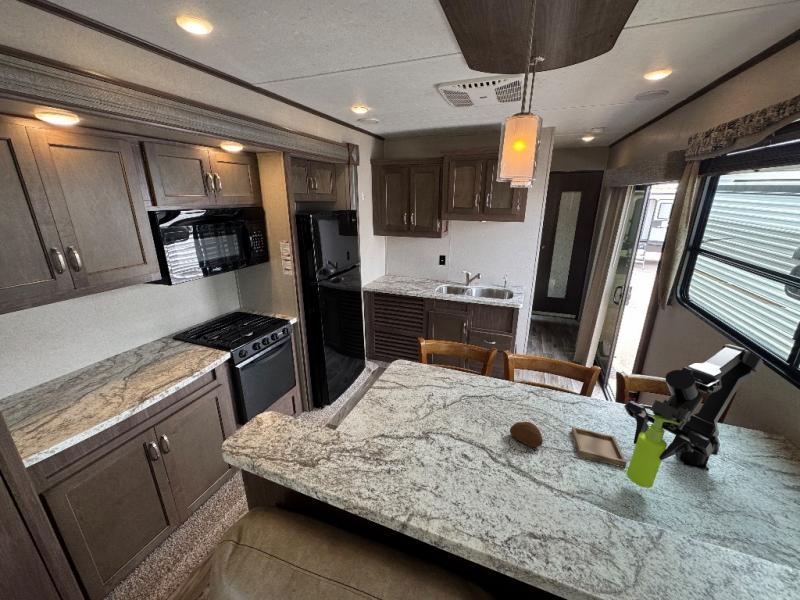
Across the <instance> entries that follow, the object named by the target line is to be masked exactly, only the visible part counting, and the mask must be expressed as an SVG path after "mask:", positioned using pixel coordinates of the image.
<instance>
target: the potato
mask: <svg viewBox="0 0 800 600" xmlns="http://www.w3.org/2000/svg"><path fill="white" fill-rule="evenodd" d="M509 433H510V435H511V436H512V437H513V438H514V439H516V440H517V441H519V442H521V443H522V444H524V445H526V446H527V447H530V448H531V447H532V448H539V447H541V446H542V445H543V439H544V438H543V436H542V433H541V431H540V429H539V427H537V426H536V425H535V424H534V423H533V422H530V421H518V422H516V423H514V424H513V425H512V426H511V427H510V428H509Z"/></svg>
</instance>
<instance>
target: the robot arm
mask: <svg viewBox="0 0 800 600" xmlns="http://www.w3.org/2000/svg"><path fill="white" fill-rule="evenodd" d="M763 367H764V361H763V360H762V358H761V357H760V356H757V355H755V354H753V353H751V352H750V350H747V349H746V348H744V347H740V346H737V345H733V344H730V343H729V344H723V345H722V347H721V349H720V350H719V351H718V352H716V353H715V354H714V355H712V356H711V357H709V359H707V360H706V361H704V362H698V363H697V362H695V363H692V364H690V365H688V366H687V367H685V366H683V367H682V368H681V369H674V370H671V371H669V372H667V373H666V375H665V376H664V377H665V381H666V385H667V388H668V391H669V392H670V396H669V397H668V398H667V399H665V400H663V402H661V401H660V400H657V399H655V400H654V401H653V403H652V405H651V407H650V409H649V410H650V411H652V413H653V414H650V413H649V412H648V411H647V409H646V407H645V406H643V405H641V404H639V403H638V402H636V401H633V400H629V401H627V402H626V403H625V404H624V409H625V410H626V412H627V415H629V416H630V417H632V418H633V419H635V422H636V428H635V433H634V438H633V444H634V445H636V442H637V439H638V436H639V433H641V432H647V429H648V426H649V422H650V423H651V424H654V421H655V419H654V418H653V417H652V415H662V416H664V417H665V418H668V419H670V420H674V421H677V422H678V423H679V424H678V425H676V424H673V423H669V422H663V425H662V428H663V429H664V431H667V432H668V433H671V434H673V435H674V438H673V439H672V441H671V442H670V443H669V445H667V447H666V449H665V451H664V452H663V453H662V454H661V456H660V460H662V461H663V460H665V459H668V458H670V457H672V456H674V455H676V456H677V458H679V460H680V462H681V463H682V464H683V465H686V466H688V467H692V468H696V469H700V470H704V469H706V470H705V471H710V468H709V467H708V466H707V465H708V461H709V459H710V456H712V455H713V456H717V455H718V454H719V450H720V447H721V443H720V440H719V439H720V438H719V434H720V432H719V431H720V430H719V427H718V422H719V419H720V418H721V417H722V415H723V413H724V411H725V410H726V408H727V407H728V405H729V403H730V402H731V400H732V399H733V396H734V395H735V393H736V392H737V390H738V388H739V387H740V385H741V384H742V383H743V382H746V381H748V380H751V379H753V378H754V376H755V375H756V374H757V373H759V372H761V370H762V369H763ZM700 392H703V393H705V394H707V397H706V399H705V401H704V403H703V404H702V406H701V407H700V409H699V411H698V412H696V413H694V412H695V411H696V410H697V408H698V407H699V405H701V403H702V401H703V399H704V398H703V396H702V394H701V393H700Z"/></svg>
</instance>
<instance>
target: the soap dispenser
mask: <svg viewBox="0 0 800 600" xmlns="http://www.w3.org/2000/svg"><path fill="white" fill-rule="evenodd" d="M651 415H652V417H653V418H654V419H655V421H654V424H653V423H651V424H650V423H648V429H647V431H646V432H641V433H639V436H638V439H637V442H636V444H634V445H635V447H634V448H633V452H632V455H631V458H630V460H629V464H628V467H627V471H626V476H627V478H628V480H630V481H631V482H632V483H634V484H635V485H637V486H639V487H642V488H647V489H649V488H650V489H651V488H653V486H654V483H655V480H656V477H657V475H658V471H659V468H660V465H661V463H662V461H663V460H660V456H661V454H662V453H663V452H664V451H665V449H666V448H667V447H668V445H667V444H668V443H667V442H666V441H665V440H664V439H663V438H664V435H665V433H666V432H665V431H666V430H665V429H663V428H662V425H663V422H669V423H673V424H676V425H678V424H679V423H678V422H677V421H674V420H670V419H668V418H665V417H664V416H662V415H655V414H651Z"/></svg>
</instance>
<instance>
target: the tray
mask: <svg viewBox="0 0 800 600" xmlns="http://www.w3.org/2000/svg"><path fill="white" fill-rule="evenodd" d="M571 435H572V437H573V438H572V439H573V442H574V445H575V449H576V452H577V456H578V457H582V458H586V459H589V458H590V459H589V460H593V459H594V461H597V460H598V461H597V462H601V461H602V462H601V463H605V462H606V463H605V464H608V463H610V464H609V465H612V464H615V465H614V466H616V465H619V466H618V467H620V466H623V467H622V468H624V467H625V468H626V466H627V463H628V462H627V460H626V458H625V455H624V454H623V451H622V450H621V447H620V445H619V443H618V441H617V440H616V437H615V436H614V435H610V434H607V433H606V434H605V433H601V432H598V431H593V430H589V429H585V428H582V427H581V428H580V427H575V426H572V429H571ZM611 463H612V464H611Z"/></svg>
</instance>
